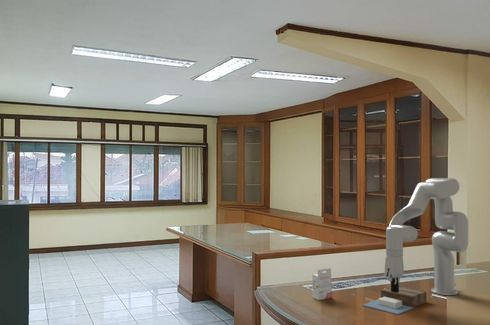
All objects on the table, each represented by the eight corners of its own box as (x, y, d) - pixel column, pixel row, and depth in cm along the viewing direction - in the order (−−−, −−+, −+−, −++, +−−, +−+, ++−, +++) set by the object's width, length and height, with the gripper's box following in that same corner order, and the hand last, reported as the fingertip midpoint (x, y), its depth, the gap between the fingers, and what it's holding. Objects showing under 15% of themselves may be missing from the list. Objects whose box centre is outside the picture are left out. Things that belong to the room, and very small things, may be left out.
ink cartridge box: (325, 295, 223) (325, 266, 223) (332, 298, 219) (331, 268, 219) (312, 297, 219) (311, 268, 220) (318, 300, 215) (317, 269, 215)
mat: (378, 300, 215) (378, 299, 215) (413, 308, 201) (413, 307, 201) (362, 305, 206) (362, 304, 206) (397, 314, 192) (397, 313, 192)
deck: (395, 295, 224) (395, 285, 224) (426, 301, 212) (426, 291, 212) (381, 300, 214) (380, 290, 215) (412, 307, 202) (411, 296, 203)
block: (377, 298, 206) (377, 304, 206) (395, 303, 199) (395, 308, 199) (384, 296, 210) (384, 301, 210) (402, 300, 203) (402, 306, 203)
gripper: (395, 250, 216) (395, 287, 216) (378, 253, 206) (379, 293, 206) (409, 252, 211) (410, 290, 210) (393, 255, 201) (393, 296, 200)
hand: (394, 291), depth 208 cm, fingers closed
